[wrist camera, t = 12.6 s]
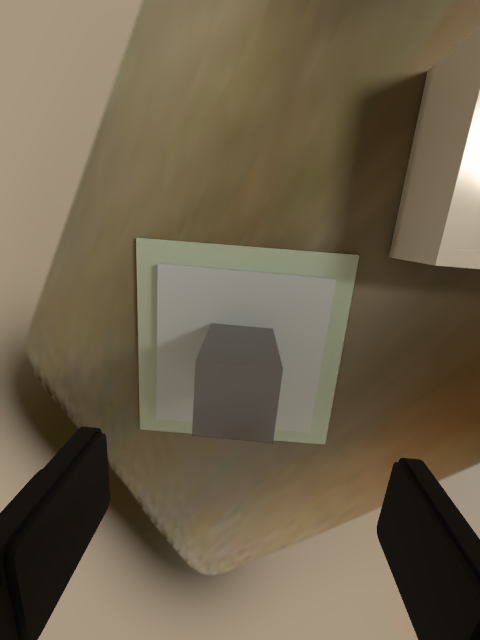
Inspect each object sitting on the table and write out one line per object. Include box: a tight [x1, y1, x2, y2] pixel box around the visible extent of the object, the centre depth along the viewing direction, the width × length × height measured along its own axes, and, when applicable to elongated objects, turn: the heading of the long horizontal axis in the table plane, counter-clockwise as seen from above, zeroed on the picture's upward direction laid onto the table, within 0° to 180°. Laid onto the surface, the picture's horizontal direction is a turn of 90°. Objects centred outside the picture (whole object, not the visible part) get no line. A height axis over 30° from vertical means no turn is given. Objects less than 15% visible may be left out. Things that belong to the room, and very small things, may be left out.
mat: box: [136, 238, 359, 444], centre depth 21 cm, size 14×14×1 cm
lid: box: [156, 262, 336, 443], centre depth 18 cm, size 11×11×7 cm
